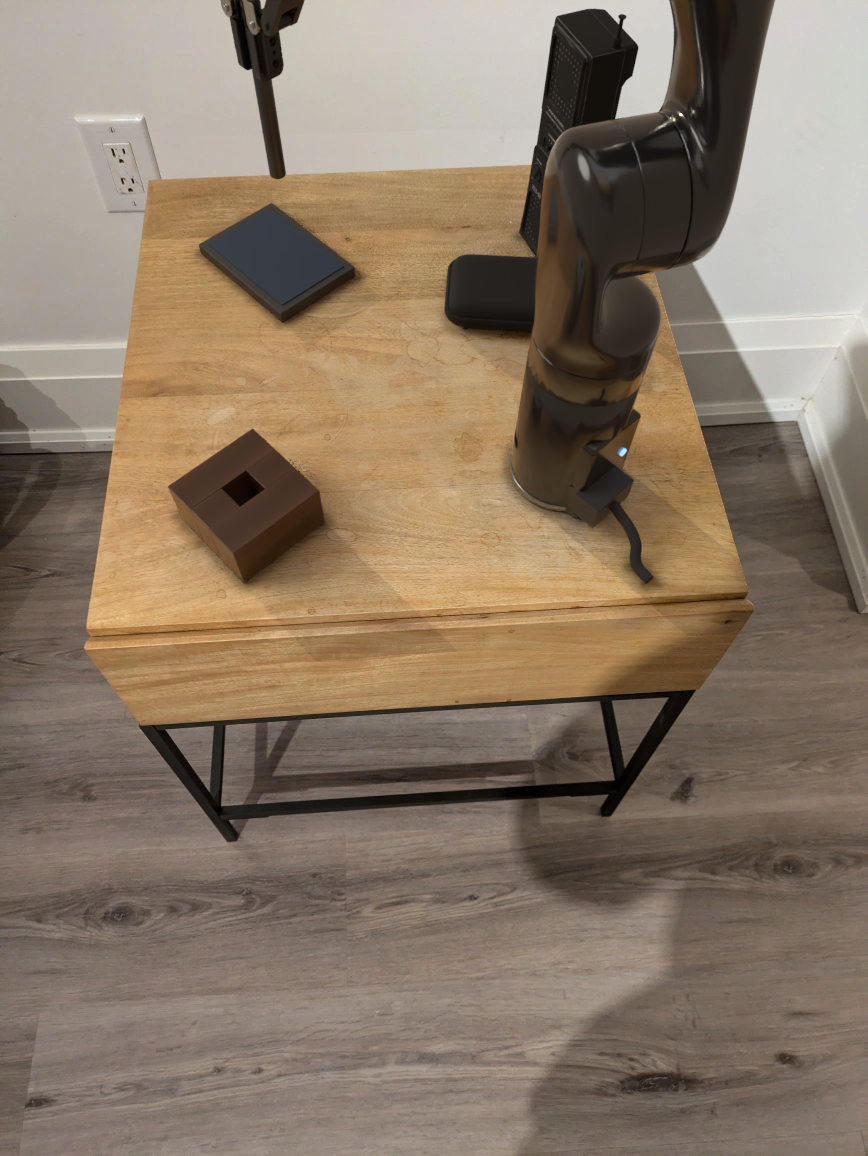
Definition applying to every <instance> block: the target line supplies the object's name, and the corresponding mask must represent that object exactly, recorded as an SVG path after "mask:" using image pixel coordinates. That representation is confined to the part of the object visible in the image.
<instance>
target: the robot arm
mask: <svg viewBox="0 0 868 1156" xmlns="http://www.w3.org/2000/svg"><path fill="white" fill-rule="evenodd" d="M240 1H241V0H220V7H221V9H222V11H223V13H224V15H225V16H226V17H227V18H229V22H230V28H231V33H232V38H233V44H234V50H235V52H236V58H237V64H238V65H239V67H240V68H242V69H244V70H246V71H251V70H252V68H251V62H250V56H249V50H248V44H247V38H246V33H245V27H244V25H243V19H242V13H241V7H240ZM305 1H306V0H265V2H264V6H263V8H262V9H261V10H259V6H258V0H243V5H244V10H245V15H246V20H247V25H248V27H249V30H248V36H249V42H250V48H251V54H252V59H253V65H254V71H255V76H256V77H257V78H258V79H260V80H261V81H262V82H267V81H269V80H271V79H272V80H273V79H275V78H277V77H278V76H281V75H282V73H283V72H284V66H285V63H284V57H283V51H282V50H283V49H282V43H281V34H280V31H282V30H284V29H286V28H288V27H291V26H294V25H296V24H297V23H298V22H299V18H300V16H301V12H302V10H303V7H304V3H305ZM775 2H776V0H668V3H669V7H670V11H671V17H672V26H673V48H672V57H671V65H670V66H671V67H670V72H669V73H670V74H669V79H668V85H667V90H666V93H665V97H664V100H663V103H662V104H661V107H660V108H659V110H658V111H656V112H648V113H643V114H637V115H631V116H624V117H619V118H615V119H612V120H607V121H601V122H595V123H589V124H584V125H579V126H575V127H572V128H569V129H567V130H566V131H564V132H563V133H562V134H561V135H560V136H559V137H558V139H557V140H556V142H555V144H554V146H553V148H552V150H551V152H550V155H549V158H548V161H547V165H546V170H545V175H544V182H543V191H542V202H541V216H540V229H539V240H538V250H537V258H536V257H535V258H536V267H535V278H534V317H533V323H532V331H531V333H530V337H529V338H530V339H529V344H528V350H527V355H526V362H525V369H524V373H523V374H524V375H523V381H522V388H521V392H520V393H521V394H520V400H519V406H518V412H517V418H515V419H514V420H515V421H516V422H515V424H514V426H513V431H514V434H513V435H512V436H513V437H512V441H513V442H512V447H511V452H510V455H509V456H510V457H509V463H508V467H509V468H508V470H509V475H510V478H511V481H512V483H513V485H514V486H515V488H516V489H517V491H518V492H519V493H520V494H521V496H523V497H524V498H525V499H526V500H527V501H529V502H531V503H533V504H534V505H536V506H538V507H541V508H544V509H547V510H550V511H557V512H565V513H567V514H569V515H570V516H571V517H572V518H577V517H578V518H580V519H581V520H582V521H583V522H584V523H586V524H587V525H588V527H590V528H592V529H593V528H594V527H596V526H598V524H599V523H600V522H601V521H602V520H604V519H605V518H606V517H607V516H608V515H609V514H612V515H613V517H614V518H615V519H616V521H617V522H618V523H619V525H620V526H621V528H622V529H623V531H624V532H625V534H626V537H627V539H628V542H629V547H630V548H629V563H630V566H631V568H632V570H633V572H634V573H635V575H636V576H637V577H638V578H639V579H640V580H641V581H642V582H643V583H644V585H645V584H648V583H650V582H651V581H652V580H653V579H654V578H655V577H654V575H653V574H652V573H651V571H649V570H648V568H646V567H645V565H644V564H643V561H642V549H643V544H642V539H641V536H640V534H639V532H638V529H637V527H636V526H635V523H634V522H633V520H632V519H631V517H630V516H629V515H628V513H627V512H626V511H625V509H624V508H623V506H622V503H623V502H624V501H625V500H626V499H627V498H629V495H630V493H631V490H632V487H633V484H634V482H635V479H633V477H632V476H630V475H629V474H627V473H626V472H625V471H623V468H624V466H625V463H626V460H627V458H628V454H629V452H630V449H631V446H632V443H633V440H634V437H635V435H636V432H637V429H638V426H639V423H640V421H641V418H642V414H641V412H639V411H638V410H637V409H635V405H636V402H637V398H638V395H639V393H640V389H641V387H642V384H643V381H644V378H645V375H646V374H647V373H646V372H647V369H648V366H649V363H650V360H651V357H652V356H653V355H652V354H653V352H654V350H655V347H656V344H657V341H658V338H659V335H660V331H661V326H662V309H661V306H660V303H659V300H658V298H657V296H656V295H655V292H653V290H652V289H651V288H650V286H648V284H647V283H645V282H644V281H643V280H642V279H641V278H640V277H638V276H643V275H648V274H651V273H652V274H653V273H659V272H663V271H667V270H671V269H677V268H680V267H684V266H689V265H690V264H693V263H695V262H697V261H700V260H702V259H703V258H705V257H706V256H707V255H708V253H710V252H711V251H712V250H713V249H714V247H715V245H716V244H717V243H718V241H719V239H720V237H721V235H722V234H723V231H724V229H725V226H726V225H727V221H728V218H729V216H730V214H731V213H730V212H731V209H732V206H733V204H734V203H733V202H734V199H735V194H736V191H737V187H738V182H739V177H740V172H741V167H742V164H743V159H744V152H745V147H746V143H747V142H746V141H747V137H748V132H749V126H750V121H751V117H752V116H751V115H752V111H753V105H754V100H755V95H756V90H757V85H758V79H759V73H760V69H761V64H762V61H763V60H762V59H763V55H764V49H765V46H766V40H767V36H768V30H769V27H770V24H771V20H772V15H773V11H774V6H775Z"/></svg>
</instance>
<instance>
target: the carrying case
mask: <svg viewBox="0 0 868 1156" xmlns="http://www.w3.org/2000/svg"><path fill="white" fill-rule="evenodd" d="M535 267H536V257H532V256H530V257H529V256H517V255H514V256H513V255H493V254H473V253H471V254H469V253H468V254H461V255H459V256H457V257H456V258H455V259H453V260H452V261H451V262H450V263H449V264H448V266H447V271H446V273H447V274H446V284H445V285H446V286H445V297H444V308H443V309H444V315H445V317H446V318H447V320H448V321H449V322H450V323H452V324H453V325H455V326H457V327H458V328H462V329H463V330H478V331H490V332H491V331H492V332H493V331H494V332H506V333H507V332H508V333H521V334H522V333H525V334H531V331H532V323H533V317H534V278H535Z"/></svg>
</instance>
